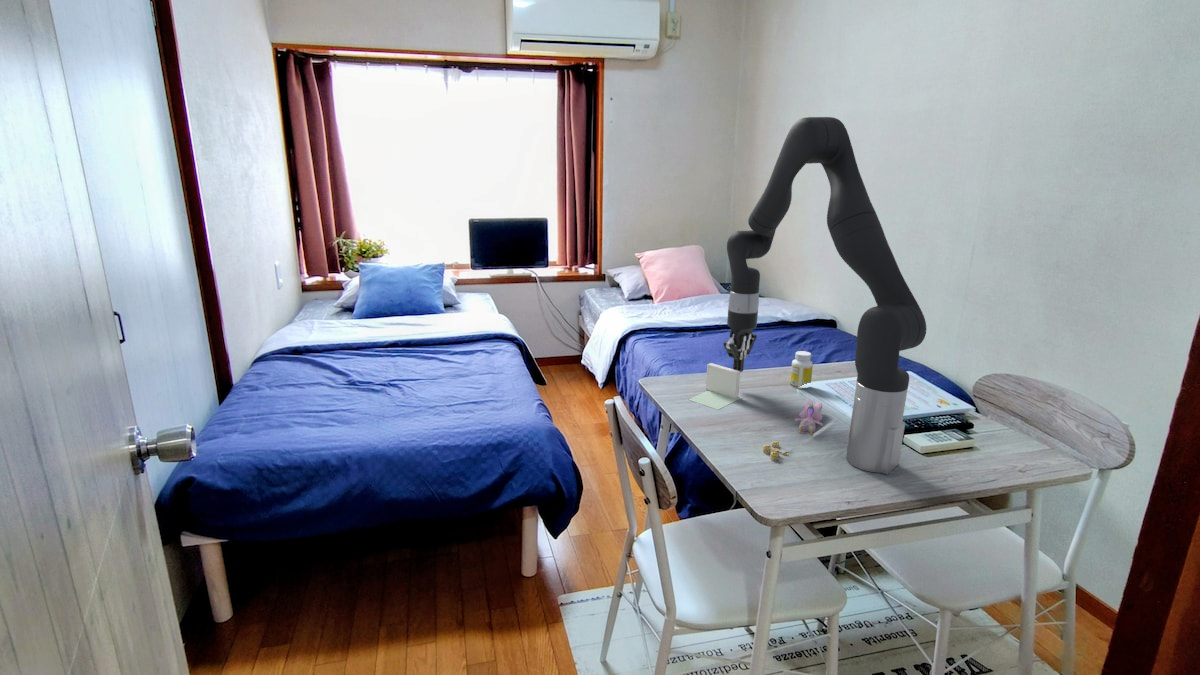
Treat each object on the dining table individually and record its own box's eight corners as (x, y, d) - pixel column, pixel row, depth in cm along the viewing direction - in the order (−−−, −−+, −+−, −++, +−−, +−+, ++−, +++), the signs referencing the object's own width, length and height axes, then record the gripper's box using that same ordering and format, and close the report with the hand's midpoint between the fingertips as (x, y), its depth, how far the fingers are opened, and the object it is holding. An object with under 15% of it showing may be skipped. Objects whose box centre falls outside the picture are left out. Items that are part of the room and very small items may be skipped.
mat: (777, 402, 153) (777, 400, 153) (744, 421, 142) (744, 418, 142) (718, 384, 165) (718, 382, 165) (682, 400, 154) (683, 398, 154)
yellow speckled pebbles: (773, 464, 124) (773, 455, 123) (757, 453, 128) (757, 445, 128) (792, 459, 126) (793, 450, 125) (775, 448, 130) (776, 440, 130)
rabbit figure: (819, 444, 134) (827, 410, 146) (822, 422, 132) (829, 389, 144) (790, 438, 137) (800, 405, 149) (792, 416, 134) (802, 384, 146)
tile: (740, 371, 153) (710, 362, 159) (736, 372, 152) (707, 364, 158) (738, 396, 155) (709, 387, 161) (734, 398, 154) (705, 389, 160)
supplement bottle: (811, 385, 165) (815, 351, 162) (809, 392, 160) (813, 357, 157) (790, 382, 167) (794, 349, 164) (788, 389, 162) (791, 354, 159)
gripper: (742, 315, 147) (736, 381, 153) (769, 306, 157) (763, 369, 162) (716, 310, 152) (712, 374, 158) (744, 301, 162) (739, 362, 167)
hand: (738, 371), depth 160 cm, fingers closed
